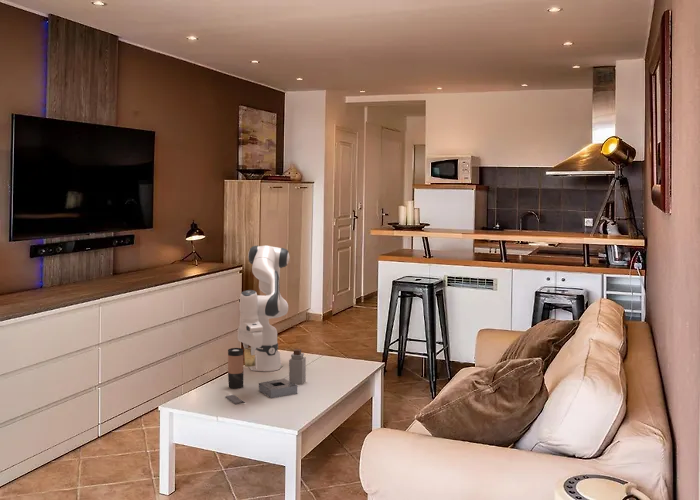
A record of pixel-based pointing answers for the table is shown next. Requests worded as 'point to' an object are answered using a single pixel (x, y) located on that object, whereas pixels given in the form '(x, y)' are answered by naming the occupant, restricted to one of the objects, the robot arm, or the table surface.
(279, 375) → the table surface
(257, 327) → the robot arm
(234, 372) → the travel mug
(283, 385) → the housing
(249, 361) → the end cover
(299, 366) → the grey square bottle
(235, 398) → the mat
